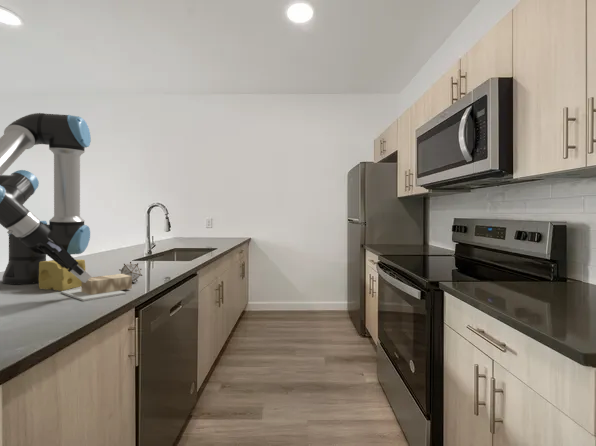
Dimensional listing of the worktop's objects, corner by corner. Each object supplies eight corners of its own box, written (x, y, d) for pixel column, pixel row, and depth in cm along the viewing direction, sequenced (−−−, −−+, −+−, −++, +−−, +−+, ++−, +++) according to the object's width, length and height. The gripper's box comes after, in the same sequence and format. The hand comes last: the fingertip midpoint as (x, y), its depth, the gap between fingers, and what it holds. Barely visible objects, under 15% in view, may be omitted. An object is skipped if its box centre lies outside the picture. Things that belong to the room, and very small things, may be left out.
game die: (135, 291, 144) (151, 272, 144) (116, 286, 138) (132, 267, 137) (128, 277, 150) (143, 259, 149) (110, 272, 143) (125, 253, 142)
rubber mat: (83, 301, 113) (83, 299, 113) (61, 293, 122) (61, 291, 122) (126, 293, 124) (126, 292, 124) (103, 287, 133) (103, 285, 133)
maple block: (91, 281, 119) (131, 276, 130) (81, 278, 123) (121, 273, 134) (91, 294, 119) (131, 288, 130) (81, 291, 123) (121, 285, 134)
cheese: (62, 291, 124) (62, 263, 124) (36, 289, 127) (36, 261, 126) (85, 285, 135) (86, 259, 134) (61, 283, 137) (61, 257, 137)
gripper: (10, 237, 108) (69, 285, 122) (26, 240, 101) (88, 291, 114) (31, 220, 113) (86, 268, 126) (49, 221, 105) (105, 272, 118)
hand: (87, 279), depth 120 cm, fingers closed
